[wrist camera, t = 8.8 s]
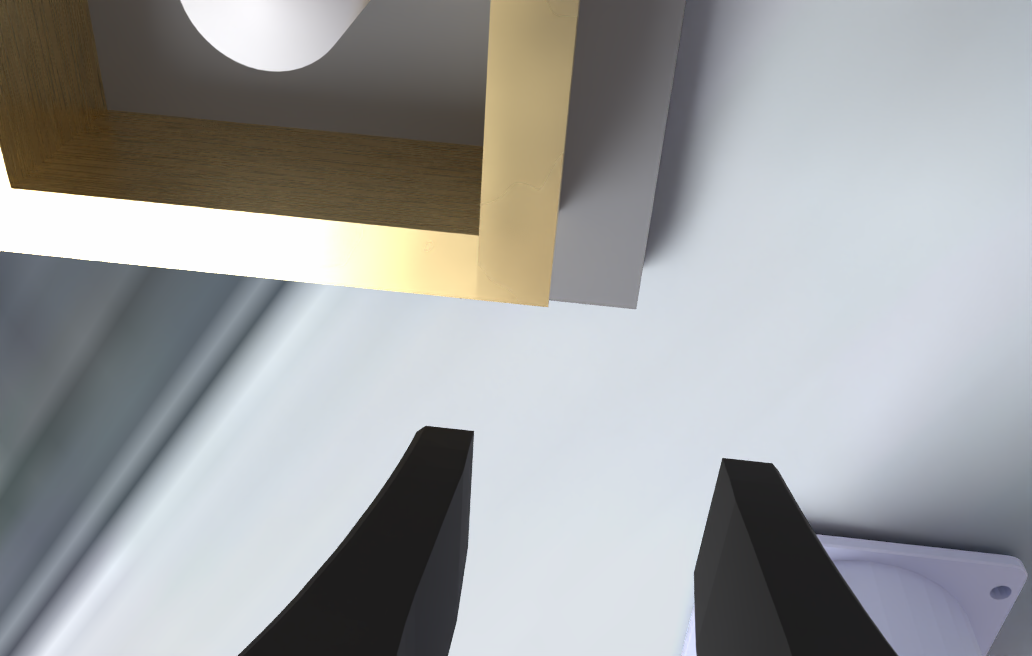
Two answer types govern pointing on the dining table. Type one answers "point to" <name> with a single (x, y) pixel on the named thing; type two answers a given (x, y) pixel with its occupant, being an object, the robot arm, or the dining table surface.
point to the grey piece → (417, 94)
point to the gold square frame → (287, 173)
